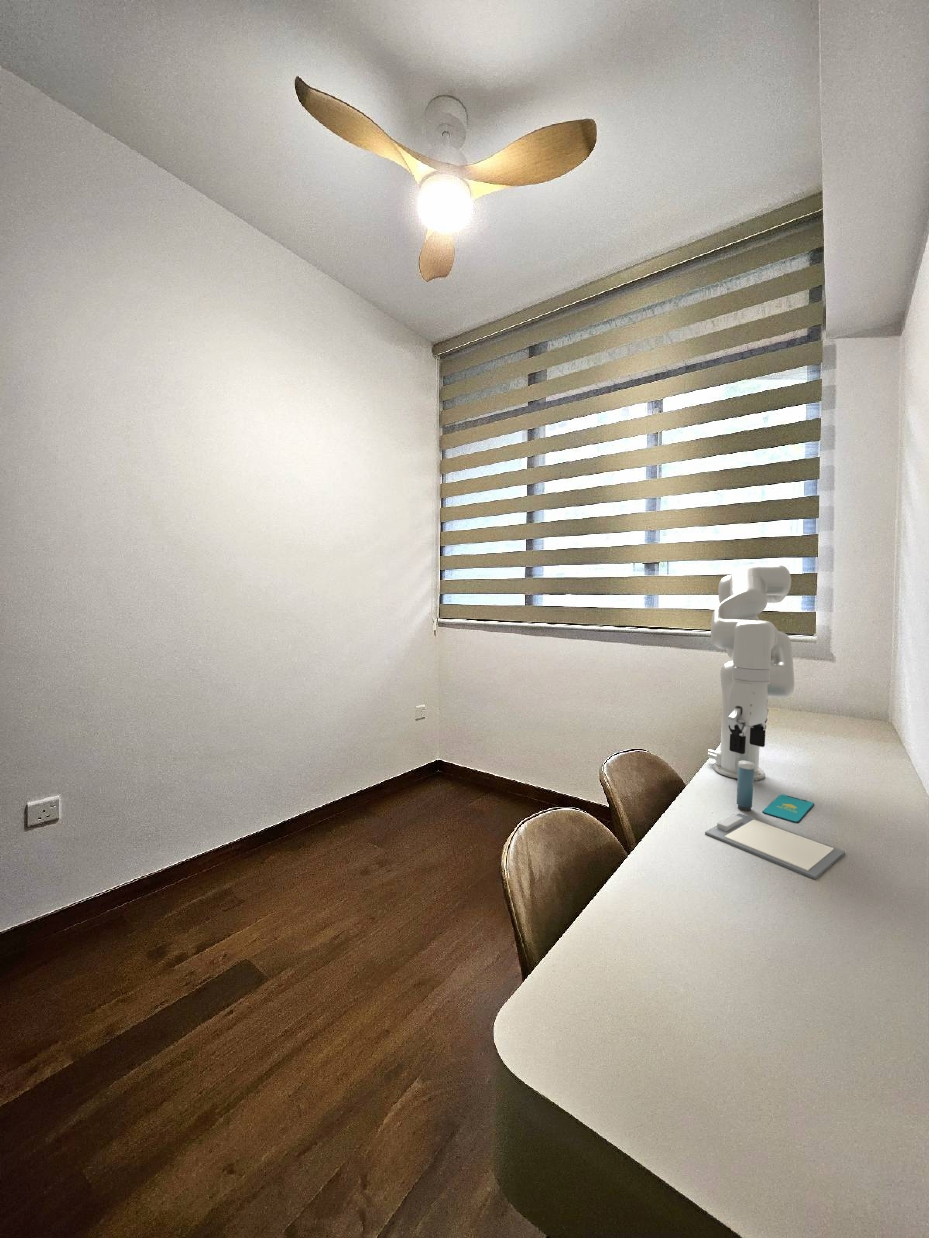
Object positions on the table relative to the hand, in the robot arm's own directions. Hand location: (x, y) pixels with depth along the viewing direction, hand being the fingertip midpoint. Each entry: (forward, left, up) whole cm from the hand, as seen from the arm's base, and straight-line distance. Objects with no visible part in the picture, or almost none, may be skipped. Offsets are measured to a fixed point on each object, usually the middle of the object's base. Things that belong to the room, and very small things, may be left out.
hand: (747, 748), depth 116 cm
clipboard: (+11, -11, -15) cm, 21 cm away
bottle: (0, +1, -15) cm, 15 cm away
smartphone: (+6, +10, -15) cm, 19 cm away
